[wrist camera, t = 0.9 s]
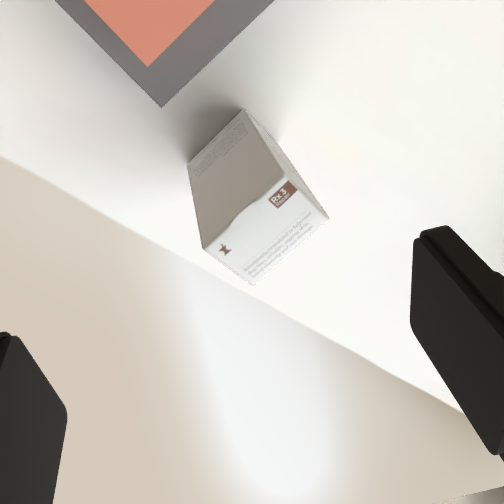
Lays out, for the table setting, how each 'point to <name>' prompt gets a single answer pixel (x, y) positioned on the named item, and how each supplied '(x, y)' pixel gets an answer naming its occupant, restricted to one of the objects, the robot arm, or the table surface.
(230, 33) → the key housing
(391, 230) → the table surface
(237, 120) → the skincare box
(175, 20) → the brick key
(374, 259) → the table surface
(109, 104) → the table surface
